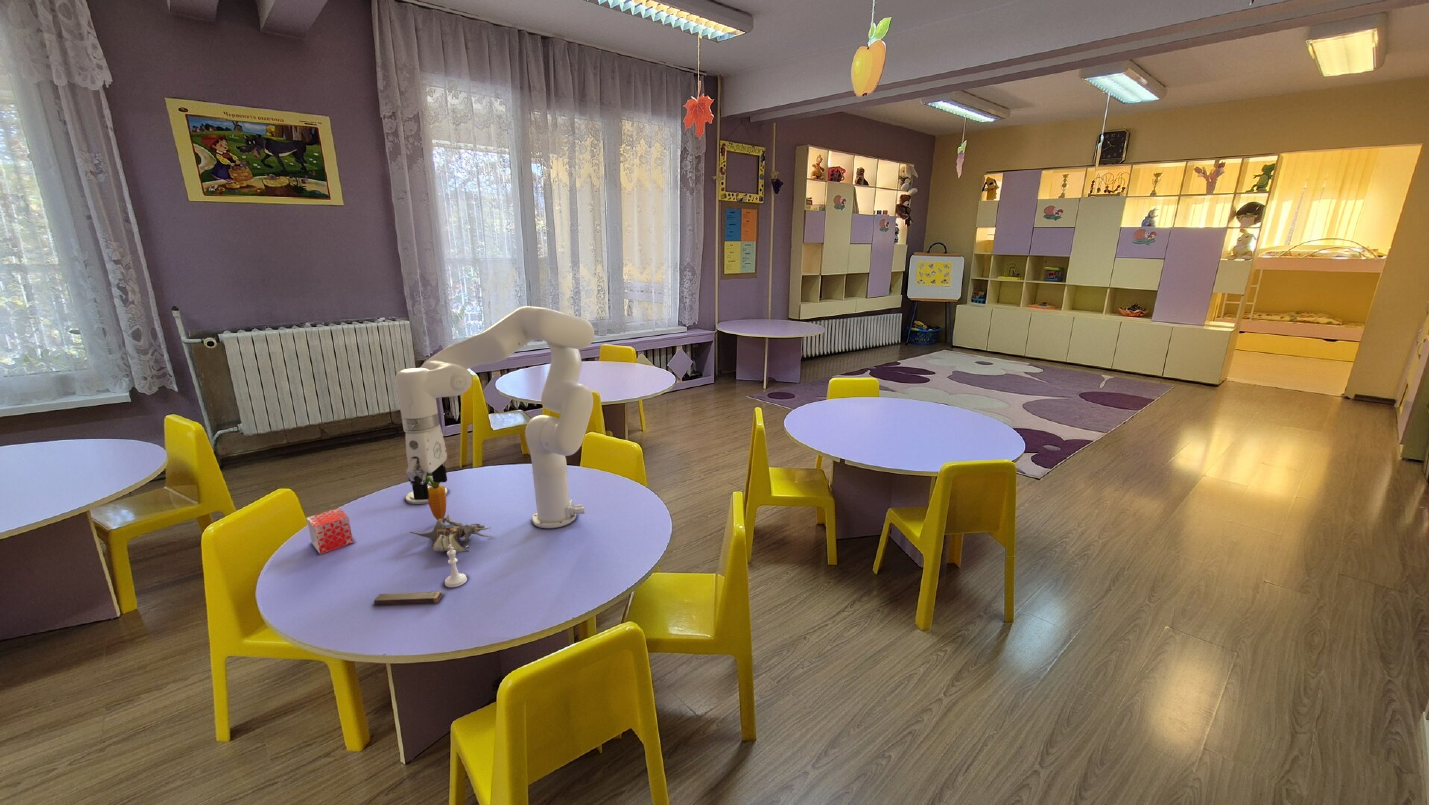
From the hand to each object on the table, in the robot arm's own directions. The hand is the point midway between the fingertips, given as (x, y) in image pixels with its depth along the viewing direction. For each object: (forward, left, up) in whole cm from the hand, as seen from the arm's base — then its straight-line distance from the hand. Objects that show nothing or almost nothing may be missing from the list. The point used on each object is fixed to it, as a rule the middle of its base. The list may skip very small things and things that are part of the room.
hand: (431, 490), depth 136 cm
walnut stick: (+3, +12, -22) cm, 25 cm away
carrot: (+11, -26, -22) cm, 36 cm away
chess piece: (-5, +5, -22) cm, 23 cm away
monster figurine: (+23, -45, -22) cm, 56 cm away
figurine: (+2, -12, -22) cm, 26 cm away
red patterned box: (+36, -16, -22) cm, 46 cm away
